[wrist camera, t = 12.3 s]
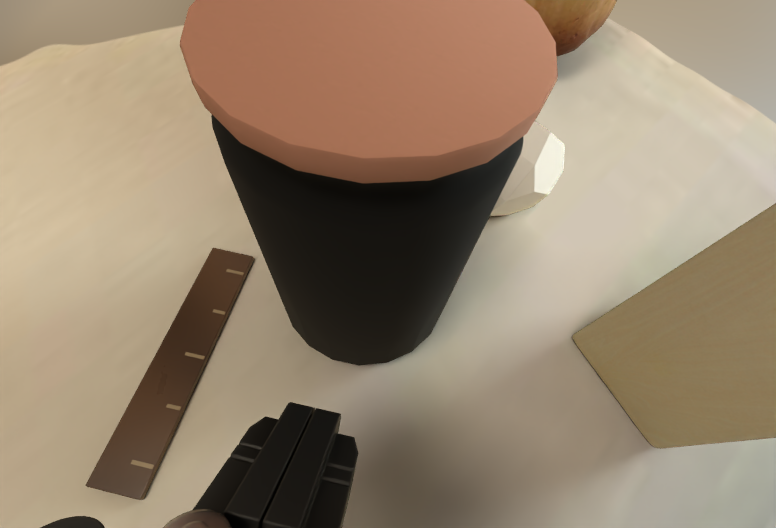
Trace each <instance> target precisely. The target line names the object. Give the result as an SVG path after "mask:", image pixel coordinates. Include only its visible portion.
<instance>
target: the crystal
mask: <svg viewBox="0 0 776 528" xmlns="http://www.w3.org/2000/svg"><path fill="white" fill-rule="evenodd" d="M564 152H565V145H564V144H563V143H562V142H561V141H560V140H559V139H558V138H557V137H556V136H555V135H554V134H553V133H552V132H550V131H549V130H548V129H546V128H545V127H544V126H542V125H541V124H540V123H538V122H537V121H534V123H533V124H532V126H531V127H530V129H529V131H528V132H527V134H526V135H524V136H523V147H522V152H521V154H520V156H519V158H518V160H517V162H516V164H515V166H514V168H513V170H512V172H511V174H510V176H509V178H508V180H507V182H506V184H505V186H504V188H503V190H502V192H501V194H500V196H499V198H498V200H497V202H496V204H495V206H494V208H493V210H492V212H491V214H490V216H500V215H509V214H513V213H516V212H519V211H522V210H525V209H528V208H531V207H533V206H535V205H536V204H537V203H538V202H540V201H541V200H542V199H544V198H545V197H546V196H548V195H549V193H550V192H551V190H552V189H553V187H554V185H555V184H556V182H557V181H558V179H559V177H560V176H561V174H562V173H563V168H564Z"/></svg>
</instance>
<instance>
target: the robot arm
mask: <svg viewBox="0 0 776 528" xmlns="http://www.w3.org/2000/svg"><path fill="white" fill-rule="evenodd" d="M340 420H341V414H339V413H335V412H330V411H326V410H322V409H318V408H316V409H315V408H313V407H309V406H304V405H300V404H296V403H291V402H290V403H288V405H287V406H286V408H285V410H284V411H283V413H282V415H281V416H280V418H279V420H278V419H274V418H269V417H264V418H263V419H261V420H260V421H258V422H257V423H255V424H254V425H252V426H251V427H250V428H249V429H248V431H247V432H246V434H245V435H244V436H243V438H242V439H241V441H240V443H239V445H237V447H236V448H235V450H234V451H233V452H232V454H231V457H230V458H228V460H227V461H226V463H225V464H224V465H223V467H222V468H221V470H220V471H219V473H218V474H217V476H216V477H215V479H214V480H213V481H212V483H211V484H210V486H209V487H208V489H207V490H206V492H205V493H204V495H203V496H202V497H201V499H200V500H199V502H198V503H197V505H196V506H195V507H194V509H193V510H192V511H189V512H186V513H183V514H181V515H179V516H177V517H176V518H174V519H173V520H171V521H170V522H169V523H167V524H166V525H165V526H164V527H163V528H342V526H343V521H344V517H345V513H346V509H347V505H348V500H349V496H350V491H351V486H352V481H353V476H354V471H355V467H356V462H357V457H358V450H357V446H356V442H355V438H354V437H350V436H346V435H342V434H338V431H339V426H340ZM41 528H105V527H104V525H103V524H102V523H101V522H100V521H98V520H97V519H95V518H91V517H86V516H75V517H69V518H65V519H61V520H58V521H55V522H52V523H50V524H48V525H45V526H43V527H41Z"/></svg>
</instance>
